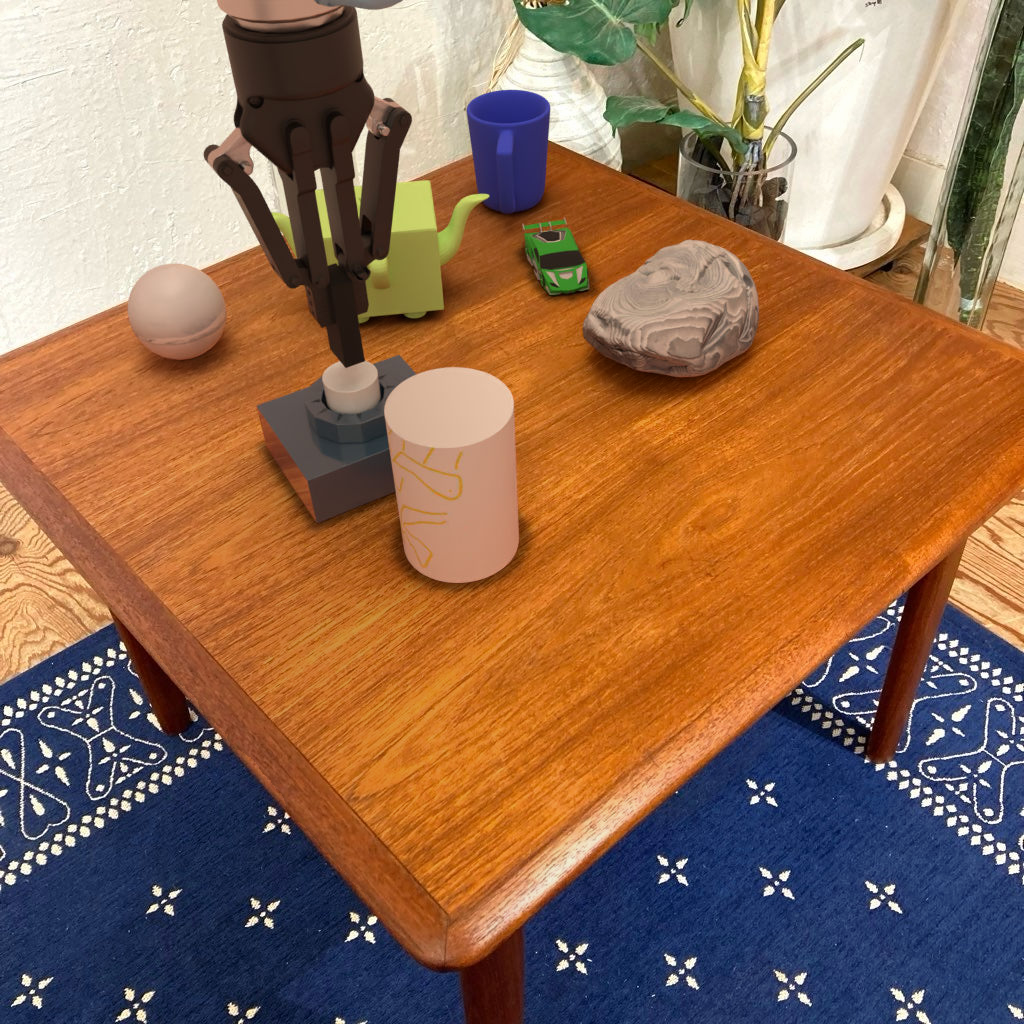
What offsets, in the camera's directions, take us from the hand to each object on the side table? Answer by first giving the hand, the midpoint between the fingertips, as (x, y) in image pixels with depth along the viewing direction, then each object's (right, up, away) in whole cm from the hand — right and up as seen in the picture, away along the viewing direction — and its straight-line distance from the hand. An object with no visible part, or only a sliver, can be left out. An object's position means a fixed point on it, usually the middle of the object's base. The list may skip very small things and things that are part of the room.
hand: (347, 354), depth 76 cm
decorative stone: (+25, +3, +16) cm, 30 cm away
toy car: (+16, +12, +25) cm, 32 cm away
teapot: (0, +8, +22) cm, 24 cm away
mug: (+12, +20, +34) cm, 41 cm away
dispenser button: (0, -3, +3) cm, 4 cm away
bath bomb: (-16, +3, +17) cm, 24 cm away
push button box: (0, -7, +7) cm, 9 cm away
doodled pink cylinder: (+8, -13, 0) cm, 16 cm away
